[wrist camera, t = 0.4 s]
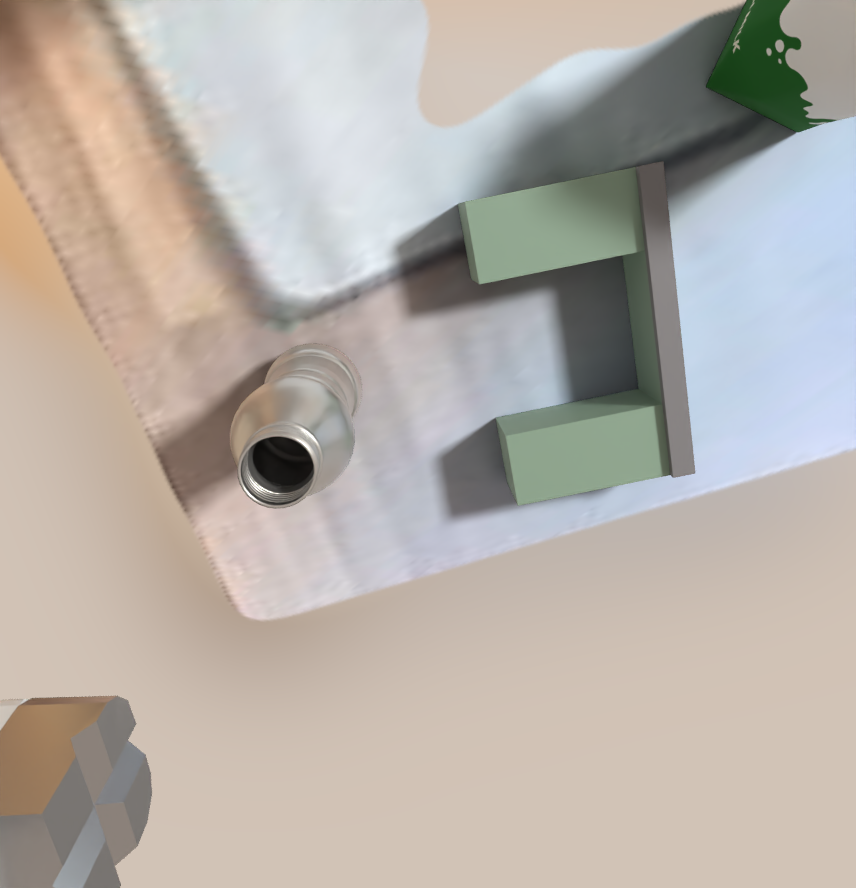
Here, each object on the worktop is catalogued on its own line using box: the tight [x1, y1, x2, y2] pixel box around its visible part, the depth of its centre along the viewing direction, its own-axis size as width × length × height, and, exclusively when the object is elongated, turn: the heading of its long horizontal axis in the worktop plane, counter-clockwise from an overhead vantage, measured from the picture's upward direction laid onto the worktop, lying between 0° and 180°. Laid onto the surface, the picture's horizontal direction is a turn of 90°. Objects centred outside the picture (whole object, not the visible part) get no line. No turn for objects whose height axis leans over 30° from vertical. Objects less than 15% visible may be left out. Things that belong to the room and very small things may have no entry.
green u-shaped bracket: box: [458, 161, 695, 506], centre depth 51 cm, size 20×12×6 cm, turn 11°
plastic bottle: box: [230, 343, 362, 508], centre depth 44 cm, size 6×7×20 cm
